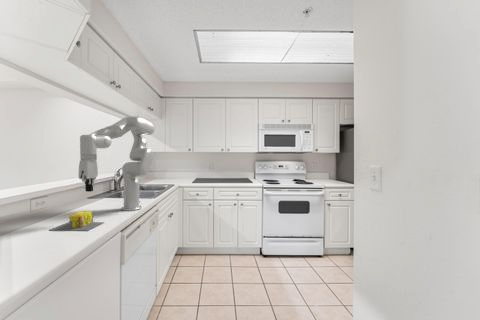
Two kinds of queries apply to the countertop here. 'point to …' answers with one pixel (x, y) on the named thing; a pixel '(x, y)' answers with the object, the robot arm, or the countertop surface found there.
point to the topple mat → (85, 228)
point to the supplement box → (81, 219)
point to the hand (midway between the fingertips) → (89, 191)
